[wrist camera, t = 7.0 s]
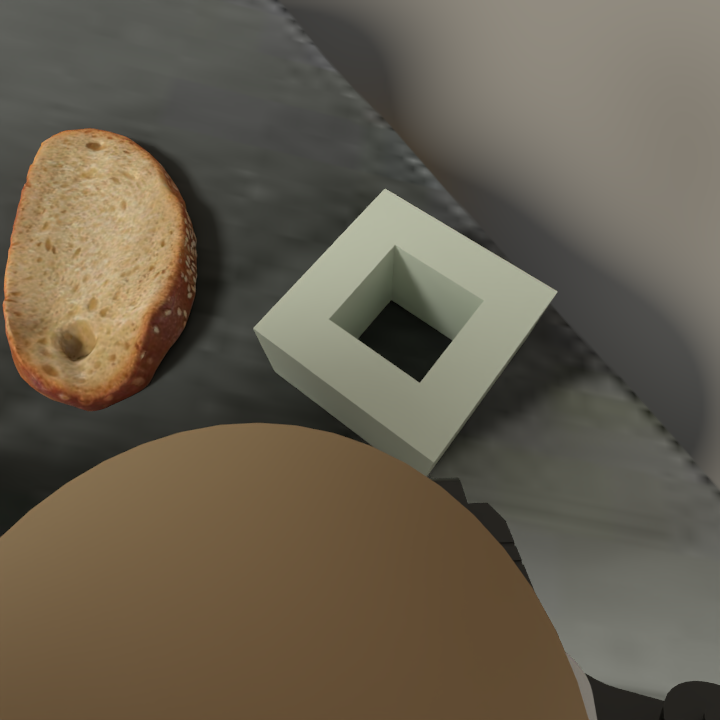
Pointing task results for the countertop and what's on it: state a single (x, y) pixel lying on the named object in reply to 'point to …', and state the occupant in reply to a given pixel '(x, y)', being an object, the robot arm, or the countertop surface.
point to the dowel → (268, 592)
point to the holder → (424, 300)
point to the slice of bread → (97, 269)
